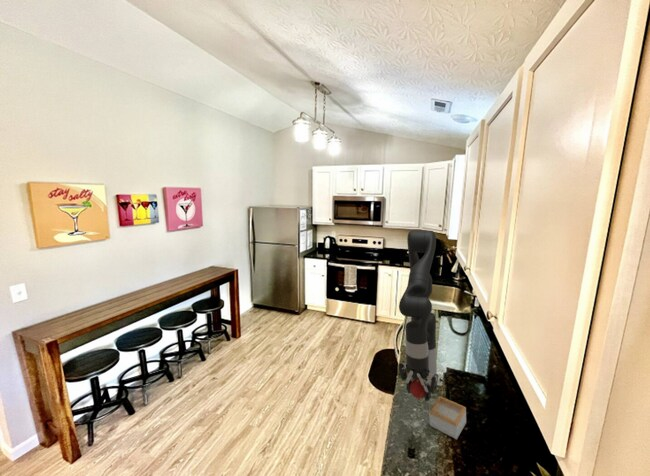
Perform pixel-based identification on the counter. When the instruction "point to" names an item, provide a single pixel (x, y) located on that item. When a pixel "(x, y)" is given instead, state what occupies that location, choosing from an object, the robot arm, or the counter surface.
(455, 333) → the counter surface
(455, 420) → the wooden tray
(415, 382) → the onion
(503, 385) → the counter surface
